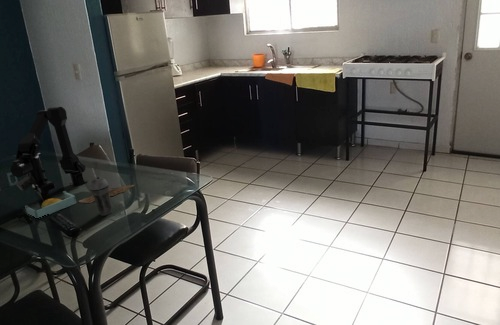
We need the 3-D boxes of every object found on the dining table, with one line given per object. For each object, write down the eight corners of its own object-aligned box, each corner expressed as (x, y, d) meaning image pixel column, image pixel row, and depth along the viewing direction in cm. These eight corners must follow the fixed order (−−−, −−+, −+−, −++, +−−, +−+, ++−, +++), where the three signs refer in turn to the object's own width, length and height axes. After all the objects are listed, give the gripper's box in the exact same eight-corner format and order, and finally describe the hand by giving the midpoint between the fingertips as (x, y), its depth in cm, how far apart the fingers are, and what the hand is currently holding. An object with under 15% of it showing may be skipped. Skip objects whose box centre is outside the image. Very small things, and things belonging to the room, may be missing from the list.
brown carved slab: (80, 206, 178) (80, 204, 177) (76, 199, 187) (76, 197, 186) (138, 189, 190) (138, 187, 189) (131, 183, 199) (131, 181, 198)
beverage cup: (118, 209, 169) (107, 164, 163) (107, 217, 163) (95, 170, 156) (104, 208, 172) (92, 164, 165) (93, 216, 165) (80, 170, 159)
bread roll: (53, 202, 186) (50, 194, 184) (67, 204, 182) (64, 196, 181) (37, 210, 179) (35, 202, 178) (51, 212, 175) (49, 204, 174)
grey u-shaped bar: (27, 214, 176) (24, 205, 175) (67, 198, 188) (64, 190, 187) (36, 219, 169) (33, 210, 168) (77, 203, 182) (74, 194, 180)
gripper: (7, 171, 178) (18, 204, 183) (24, 178, 166) (34, 213, 171) (33, 163, 185) (43, 195, 190) (51, 169, 173) (60, 203, 178)
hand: (44, 201), depth 182 cm, fingers closed
